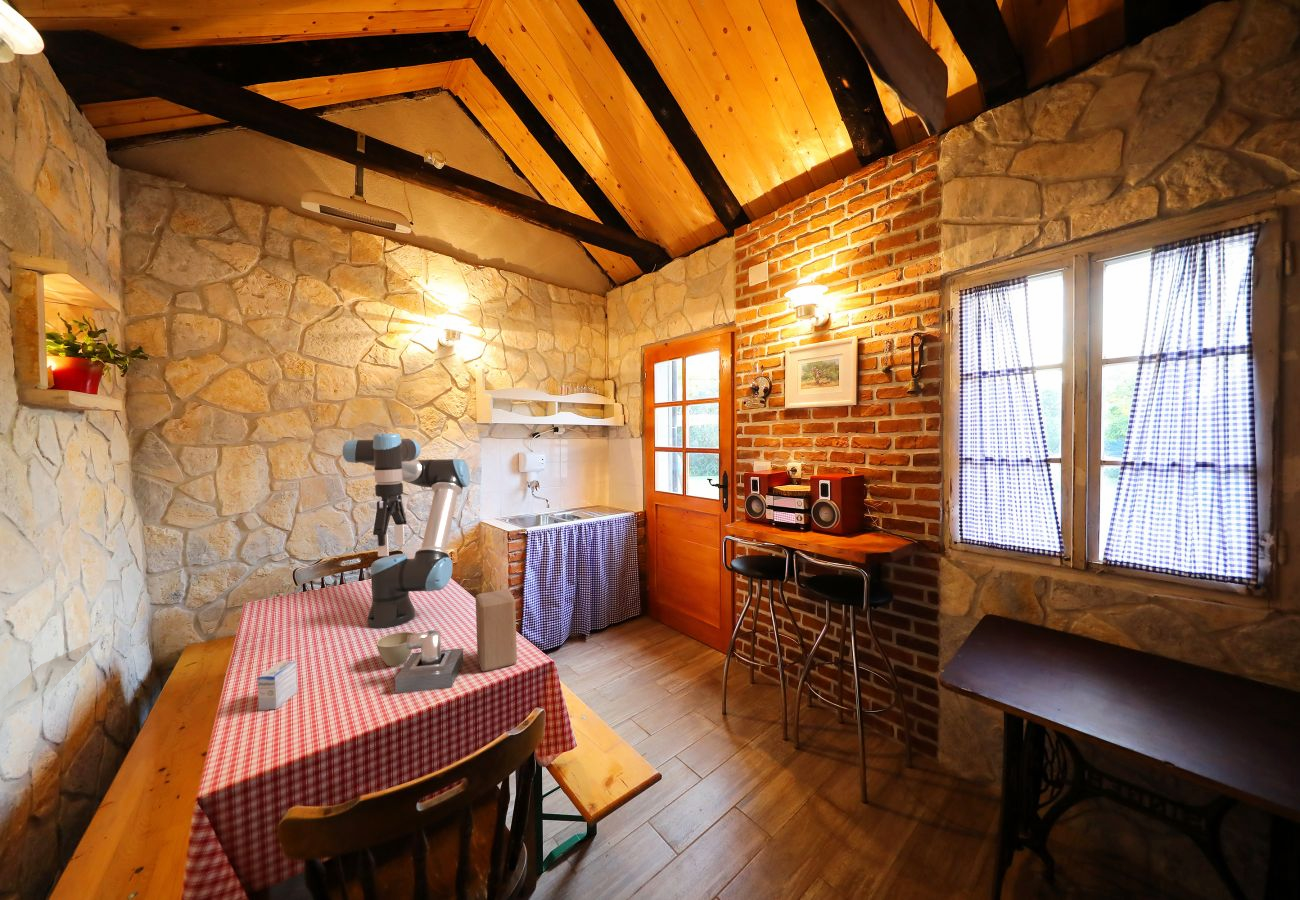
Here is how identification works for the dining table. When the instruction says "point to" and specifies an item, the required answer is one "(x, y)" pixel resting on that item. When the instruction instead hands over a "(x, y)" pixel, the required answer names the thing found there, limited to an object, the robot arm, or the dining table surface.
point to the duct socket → (429, 672)
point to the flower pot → (394, 648)
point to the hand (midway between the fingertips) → (391, 550)
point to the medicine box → (277, 685)
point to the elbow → (426, 646)
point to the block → (496, 629)
